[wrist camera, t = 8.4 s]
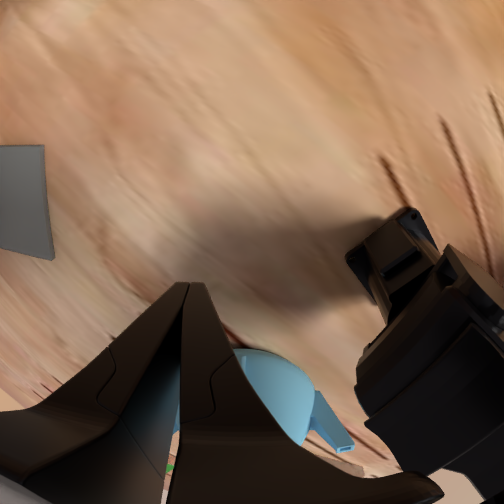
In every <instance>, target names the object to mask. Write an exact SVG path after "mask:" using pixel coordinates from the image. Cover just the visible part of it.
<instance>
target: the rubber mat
mask: <svg viewBox="0 0 504 504" xmlns="http://www.w3.org/2000/svg"><path fill="white" fill-rule="evenodd" d="M0 248H2V249H6V250H9V251H13V252H17V253H21V254H25V255H29V256H33V257H37V258H42V259H46V260H50V261H52V260H53V259H54V258H55V254H54V248H53V242H52V235H51V228H50V221H49V213H48V204H47V193H46V180H45V162H44V145H0Z"/></svg>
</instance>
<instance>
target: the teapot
mask: <svg viewBox="0 0 504 504" xmlns="http://www.w3.org/2000/svg"><path fill="white" fill-rule="evenodd" d="M233 350H234V353H235V356H236V357H237V359H238V361H239V363H240V365H241V367H242V369H243V371H244V373H245V375H246V377H247V379H248V380H249V382H250V384H251V385H252V387H253V388H254V390H255V391H256V393H257V394H258V396H259V397H260V399H261V400H262V402H263V403H264V404H265V406H266V407H267V408H268V410H269V411H270V413H271V414H272V415H273V417H274V418H275V419H276V421H277V422H278V424H279V425H280V426H281V427H282V429H283V430H284V431H285V432H286V434H287V435H288V436H289V437H290V438H291V439H292V440H293V441H294V442H296V443H297V444H298V445H300V446H301V444H302V443H303V441H304V439H305V437H306V436H307V434H308V432H309V430H315V431H316V432H317V433H318V434H319V435H320V436H321V437H322V438H323V439H324V440H325V441H326V442H327V443H328V444H329V445H330V446H331V447H333V448H334V449H335V450H336V453H341V452H346V451H351V450H354V446H355V443H354V441H353V440H352V438H351V437H350V435H349V434H348V432H347V431H346V430H345V428H344V427H343V425H342V424H341V422H340V421H339V419H338V418H337V416H336V415H335V413H334V412H333V410H332V409H331V407H330V406H329V404H328V403H327V401H326V400H325V398H324V397H323V395H322V394H321V392H320V391H315V389H314V386H313V384H312V382H311V380H310V379H309V377H308V376H307V375H306V373H305V372H303V371H302V370H301V369H300V368H299V367H297V366H296V365H294V364H293V363H291V362H290V361H288V360H286V359H284V358H282V357H280V356H278V355H275V354H272V353H269V352H266V351H261V350H256V349H239V348H238V349H233ZM178 430H179V432H180V424H179V404H178V409H177V414H176V419H175V424H174V430H173V434H174V433H175V432H177V431H178Z"/></svg>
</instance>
